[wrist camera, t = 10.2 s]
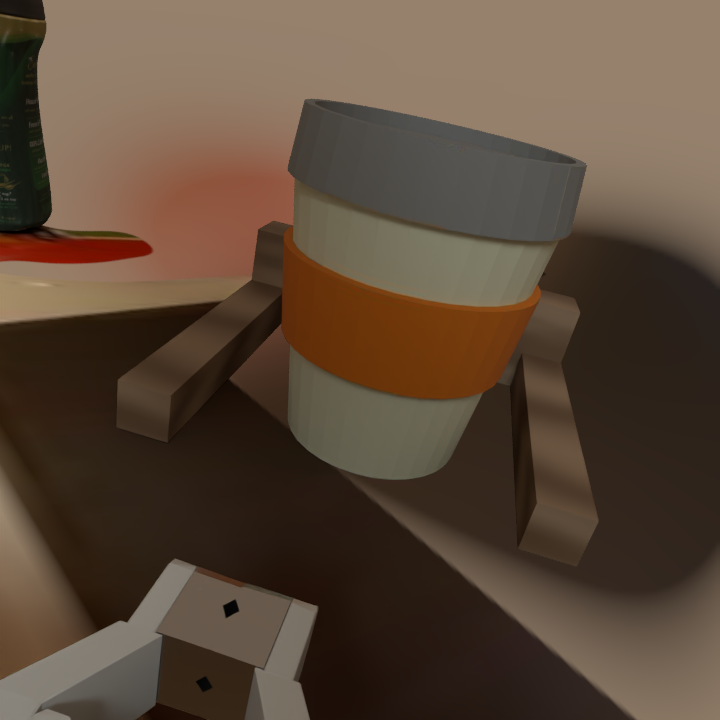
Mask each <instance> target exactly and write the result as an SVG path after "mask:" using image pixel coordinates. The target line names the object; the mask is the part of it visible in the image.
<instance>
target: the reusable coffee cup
mask: <svg viewBox="0 0 720 720" xmlns="http://www.w3.org/2000/svg"><path fill="white" fill-rule="evenodd" d="M586 167H587V165H586V163H584V162H582V161H580V160H577V159H575V158H572V157H570V156H567V155H564V154H561V153H558V152H555V151H552V150H548V149H545V148H542V147H538V146H535V145H531V144H528V143H524V142H520V141H517V140H513V139H509V138H505V137H502V136H497V135H494V134H490V133H486V132H482V131H478V130H473V129H470V128H465V127H461V126H457V125H452V124H449V123H444V122H440V121H435V120H431V119H426V118H422V117H417V116H412V115H407V114H403V113H398V112H393V111H388V110H383V109H377V108H372V107H367V106H361V105H355V104H350V103H343V102H336V101H329V100H320V99H306V100H305V101H304V105H303V109H302V113H301V117H300V121H299V125H298V129H297V133H296V137H295V141H294V145H293V149H292V153H291V156H290V160H289V164H288V171H289V172H290V174H291V175H292V176H293V177H294V178H295V189H294V190H295V191H294V192H295V193H294V222H293V226H291V227H289V228H288V229H287V230H286V232H285V233H284V243H283V287H282V331H283V333H284V336H285V339H286V340H287V341H288V342H289V344H290V355H289V388H288V423H289V427H290V430H291V431H292V433H293V435H294V436H295V438H296V439H297V440H298V441H299V442H300V443H301V444H302V445H303V446H304V447H305V448H306V449H307V450H308V451H309V452H311V453H312V454H314V455H315V456H317V457H318V458H319V459H321V460H323V461H325V462H327V463H329V464H331V465H333V466H335V467H337V468H340V469H343V470H346V471H348V472H351V473H354V474H358V475H362V476H367V477H371V478H380V479H389V480H400V479H412V478H417V477H423V476H426V475H428V474H431V473H434V472H436V471H437V470H439V469H440V468H442V467H443V466H445V464H446V463H447V462H448V461H449V459H450V458H451V456H452V454H453V452H454V450H455V448H456V446H457V444H458V442H459V439H460V438H461V436H462V434H463V432H464V430H465V428H466V426H467V424H468V422H469V420H470V418H471V416H472V414H473V412H474V410H475V408H476V406H477V404H478V402H479V400H480V398H481V395H482V394H483V392H484V391H486V390H488V389H490V388H492V387H493V386H494V385H495V384H496V383H497V382H498V380H499V379H500V378H501V376H502V374H503V372H504V370H505V368H506V366H507V364H508V362H509V360H510V358H511V356H512V354H513V352H514V350H515V348H516V346H517V344H518V342H519V340H520V338H521V336H522V334H523V332H524V330H525V328H526V326H527V324H528V322H529V320H530V318H531V316H532V314H533V313H534V311H535V309H536V307H537V305H538V303H539V301H540V298H541V291H540V289H539V287H538V285H537V283H538V281H539V279H540V277H541V275H542V273H543V271H544V269H545V267H546V265H547V263H548V261H549V259H550V257H551V255H552V253H553V251H554V249H555V247H556V245H557V243H558V241H559V240H560V239H564V238H566V237H567V236H569V235H570V232H571V228H572V225H573V220H574V216H575V212H576V208H577V204H578V200H579V196H580V191H581V188H582V183H583V179H584V175H585V171H586Z"/></svg>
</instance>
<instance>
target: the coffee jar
mask: <svg viewBox="0 0 720 720" xmlns="http://www.w3.org/2000/svg"><path fill="white" fill-rule="evenodd" d="M45 34H46V21H45V14H44V7H43V2H42V0H0V230H2V231H20V230H24V229H27V228H33V227H35V228H37V227H39V226H41V225H43V224H44V223H45V222H46V221H47V220H48V218H49V217H50V215H51V212H52V203H51V191H50V182H49V175H48V168H47V161H46V155H45V148H44V142H43V134H42V128H41V119H40V110H39V101H38V88H37V87H38V86H37V60H38V54H39V50H40V48H41V46H42V43H43V41H44V38H45Z"/></svg>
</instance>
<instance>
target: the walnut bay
mask: <svg viewBox="0 0 720 720" xmlns="http://www.w3.org/2000/svg"><path fill="white" fill-rule="evenodd" d="M291 226H292V225H288V224H284V223H280V222H276V221H272V222H271V223H269V224H267V225H265V226H263V227H262V228H260V229H258V236H257V244H256V251H255V259H254V267H253V274H252V280H251V281H250V282H248V283H247V284H246V285H244V286H243V287H241V288H240V289H239V290H237V291H236V292H235V293H233V294H232V295H231V296H229V297H228V298H227V299H225V300H224V301H223V302H221V303H220V304H219V305H217V306H216V307H215V308H213V309H212V310H211V311H209V312H208V313H207V314H205V315H204V316H203V317H201V318H200V319H199V320H197V321H196V322H195V323H193V324H192V325H191V326H189V327H188V328H187V329H185V330H184V331H182V332H181V333H180V334H178V335H177V336H176V337H174V338H173V339H172V340H170V341H169V342H168V343H166V344H165V345H164V346H162V347H161V348H160V349H158V350H157V351H156V352H154V353H153V354H152V355H150V356H149V357H148V358H146V359H145V360H144V361H142V362H141V363H140V364H138V365H137V366H136V367H134V368H133V369H132V370H130V371H129V372H127V373H126V374H125V375H123V376H122V377H121V378H119V379H118V393H117V425H116V427H117V428H120V429H123V430H127V431H130V432H133V433H137V434H140V435H143V436H147V437H150V438H153V439H156V440H160V441H163V442H166V443H168V442H169V441H170V440H171V439H172V437H173V436H174V435H175V434H176V433H177V432H178V431H179V430H180V429H181V428H182V427H183V426H184V425H185V424H186V423H187V422H188V421H189V420H190V419H191V418H192V416H193V415H194V414H195V413H196V412H197V411H198V410H199V409H200V408H201V407H202V406H203V405H204V404H205V403H206V402H207V401H208V400H209V399H210V398H211V397H212V395H213V394H214V393H215V392H216V391H217V390H218V389H219V388H220V387H221V386H222V385H223V384H224V383H225V382H226V381H227V380H228V379H229V378H230V377H231V376H232V374H233V373H234V372H235V371H236V370H237V369H238V368H239V367H240V366H241V365H242V364H243V363H244V362H245V361H246V360H247V358H249V357H250V356H251V354H252V353H253V352H254V351H255V350H256V349H257V348H258V347H259V346H260V345H261V344H262V343H263V342H264V341H265V340H266V339H267V338H268V337H269V336H270V335H271V334H272V333H273V331H274V330H275V329H276V328H277V327H278V326H279V325H280V324H281V323H282V287H283V243H284V233H285V232H286V230H287V229H288V228H289V227H291ZM540 291H541V298H540V301H539V303H538V305H537V307H536V309H535V311H534V313H533V314H532V316H531V318H530V320H529V322H528V324H527V326H526V328H525V330H524V332H523V334H522V336H521V338H520V340H519V342H518V344H517V346H516V348H515V350H514V352H513V354H512V356H511V358H510V360H509V362H508V364H507V366H506V368H505V370H504V372H503V374H502V376H501V378H500V379H499V380H498V382H497V383H501V384H504V385H508V386H510V393H511V412H512V413H511V414H512V436H513V457H514V479H515V500H516V523H517V544H518V549H519V550H523V551H526V552H529V553H532V554H536V555H539V556H542V557H546V558H549V559H552V560H556V561H559V562H562V563H565V564H569V565H572V566H575V567H577V565H578V562H579V561H580V559H581V557H582V554H583V552H584V550H585V548H586V546H587V544H588V542H589V540H590V538H591V536H592V534H593V532H594V530H595V528H596V525H597V523H598V517H597V513H596V508H595V504H594V500H593V496H592V492H591V488H590V483H589V479H588V475H587V471H586V467H585V462H584V458H583V454H582V450H581V446H580V442H579V437H578V433H577V429H576V425H575V421H574V417H573V412H572V408H571V404H570V400H569V396H568V392H567V387H566V383H565V379H564V375H563V371H562V367H561V361H562V358H563V356H564V353H565V350H566V348H567V345H568V343H569V340H570V338H571V335H572V333H573V330H574V328H575V325H576V322H577V320H578V317H579V315H580V311H579V309H578V306H577V303H576V301H575V299H574V298H571V297H567V296H563V295H559V294H555V293H552V292H548V291H544V290H540Z"/></svg>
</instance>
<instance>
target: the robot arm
mask: <svg viewBox="0 0 720 720" xmlns="http://www.w3.org/2000/svg"><path fill="white" fill-rule="evenodd" d="M318 608H319V607H318V606H315V605H312V604H309V603H306V602H303V601H300V600H297V599H294V598H292V597H289V596H286V595H282V594H279V593H276V592H273V591H270V590H267V589H264V588H260V587H257V586H254V585H251V584H248V583H246V584H245V583H242V582H240V581H237V580H234V579H231V578H229V577H226V576H223V575H220V574H218V573H215V572H212V571H209V570H207V569H204V568H201V567H198V566H195V565H192V564H189V563H186V562H184V561H181V560H178V559H174V560H173V561H172V562H170V563H169V564H168V565H167V567H166V568H165V570H164V571H163V572H162V574H161V575H160V577H159V578H158V580H157V581H156V582H155V584H154V585H153V587H152V588H151V590H150V591H149V592H148V594H147V595H146V597H145V598H144V600H143V601H142V602H141V604H140V605H139V607H138V608H137V610H136V611H135V612H134V614H133V615H132V617H131V618H130V619H129V621H128V622H123V621H118V622H116V623H114V624H112V625H110V626H108V627H106V628H104V629H102V630H100V631H98V632H96V633H94V634H92V635H90V636H88V637H86V638H84V639H82V640H80V641H78V642H76V643H74V644H72V645H70V646H68V647H66V648H64V649H62V650H60V651H58V652H56V653H54V654H52V655H50V656H48V657H46V658H44V659H41V660H39V661H37V662H35V663H33V664H31V665H29V666H27V667H25V668H23V669H21V670H19V671H17V672H15V673H13V674H11V675H9V676H7V677H5V678H3V679H1V680H0V720H136V719H137V718H139V717H140V716H141V715H143V714H144V713H145V712H147V711H148V710H149V709H151V708H152V707H154V706H155V703H156V702H157V703H161V704H164V705H167V706H170V707H173V708H176V709H179V710H182V711H185V712H188V713H191V714H194V715H198V716H200V717H203V718H205V719H208V720H310V718H309V714H308V710H307V706H306V703H305V699H304V695H303V691H302V687H301V683H299V682H298V681H299V678H300V675H301V672H302V668H303V665H304V661H305V658H306V654H307V651H308V647H309V643H310V640H311V636H312V632H313V628H314V624H315V621H316V617H317V613H318Z"/></svg>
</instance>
